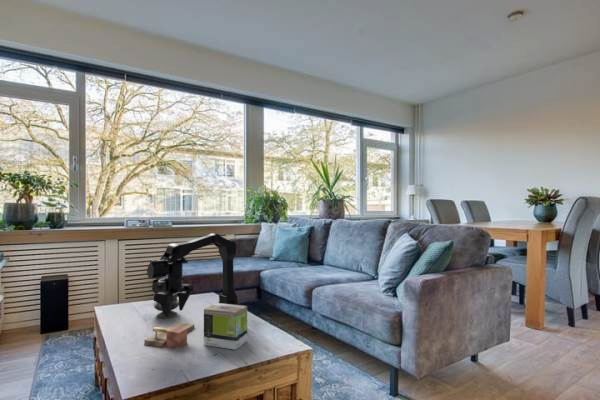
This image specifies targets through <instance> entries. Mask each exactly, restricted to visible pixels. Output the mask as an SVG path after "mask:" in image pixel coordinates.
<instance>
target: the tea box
mask: <svg viewBox="0 0 600 400" xmlns="http://www.w3.org/2000/svg"><path fill="white" fill-rule="evenodd" d="M247 342H248V305H243V304H242V305H241V304H240V305H233V304H223V303H219V302H216V303H214V304H212V305H210V306H208V307H206V308H204V309H203V345H204V346H209V347H210V346H211V347H215V348H216V347H217V348H222V349H228V350H238V349H239V348H240V347H242V345H244V344H245V343H247Z"/></svg>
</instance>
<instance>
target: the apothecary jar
mask: <svg viewBox="0 0 600 400" xmlns="http://www.w3.org/2000/svg"><path fill="white" fill-rule="evenodd" d="M165 278H166V277H163V278H160V279H159V280H157V282H159V283H162V282H164V280H165ZM159 292H161V291H158V292H157V293H159ZM162 292H168V291H163V290H162ZM172 300H173V303H172V306H171V310H170V314H169V317H165V314H164V312H163V309H162V306H161V305H160V304H159V303H157V302H156V301H154V303H153V307H154V309H155V310H157V311H160V312H159V313H157V314H156V315H155V316H156V318H158V319H169V318H170V319H171V318H174V317H177V315H178V312H176V311H174V310H175V309H177V308H179V298H178V295H177V294H175V295H173V298H172Z"/></svg>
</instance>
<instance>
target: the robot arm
mask: <svg viewBox="0 0 600 400" xmlns="http://www.w3.org/2000/svg"><path fill="white" fill-rule="evenodd" d="M210 245H214V246H215V247H216V248H218V253H219V256H220V258H221V260H222V261H221V262H222V287H223V288H222V293H221V294H218V303H223V304H233V305H241V304H240V303H239V299H238V295H237V293H236V290H235V281H234V280H235V278H234V277H235V275H234V259H235V257H236V254H237V248H238V246H237V243H236V242H235V241H234V240H229V239H228V238H226V237H224V236H221V235H220V234H219V233H214V232H212V233H211V232H210V234H206V235H204V236H201V237H198V238H195V239H192V240H188V241H185V242H183V241H182V242H175V243H169V244H168V245H167V247H166V250H165V252H164V253H163V255H161V257H160V259H159V260H158V259H157V260H154V259H152V260H149V264H147V265H148V266H147V268H146V275H147V277H148V278H149V279H157V278H165V280H164V282H162V283H159V282H158V281H155V282H153V283H152V288H151V289H152V291H154V292H155V293H154V295H153V302H157V303H159V304H160V305H161V306H162V309H163V312H164V314H165V317H169V314H170V310H171V306H172V303H173V300H172V298H173V295H175V294H177V298H178V300H179V306H178V309H179V311H183V310H184V307H185V306H186V303H187V302H188V299H189V298H190V296H191V294H192V292H194V285H193V284H192V283H191V284H190V283H183V281H184V280H185V278H186V277H185V276H183V272H184V271H183V268H184V266H183V264H188V263H189V261H188V260H187V259H186V258H185V257H186V256H188V255H189V254H190V253H192V252H193V251H197V250H199V249H201V248H205V247H207V246H210ZM166 276H167V277H166ZM162 290H163V291H168V292H162ZM158 291H161V292H159V293H157V292H158ZM171 311H172V310H171Z"/></svg>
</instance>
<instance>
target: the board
mask: <svg viewBox="0 0 600 400" xmlns="http://www.w3.org/2000/svg"><path fill="white" fill-rule="evenodd" d="M173 327H181V328H187V333H189V332H191V331H192V330H194V329H195V324H194V323H189V322H188V323H186V322H180V321H178V322H175V323H174V324H171V325H170V326H168V327H167V328H168V329H171V328H173ZM143 340H144V342H143V343H144V345H145V346H152V347H153V346H154V347H159V348H165V347H167V346H166V333H162V332H157V337H155V334H153V335H151V336H149V337H147V338H145V339H143Z"/></svg>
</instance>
